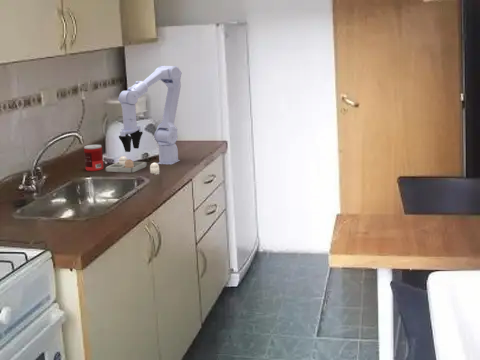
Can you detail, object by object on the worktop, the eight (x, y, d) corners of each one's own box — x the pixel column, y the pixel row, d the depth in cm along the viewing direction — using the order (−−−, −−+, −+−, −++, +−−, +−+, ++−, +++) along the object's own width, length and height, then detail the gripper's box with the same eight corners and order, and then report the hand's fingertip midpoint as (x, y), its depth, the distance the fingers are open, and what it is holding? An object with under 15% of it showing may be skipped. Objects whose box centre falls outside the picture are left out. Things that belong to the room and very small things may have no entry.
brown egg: (127, 169, 297) (127, 158, 296) (135, 169, 296) (134, 158, 295) (123, 171, 294) (122, 160, 292) (131, 171, 292) (130, 160, 291)
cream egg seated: (122, 165, 305) (121, 155, 304) (129, 166, 304) (128, 155, 302) (117, 167, 301) (117, 156, 300) (125, 168, 300) (124, 157, 299)
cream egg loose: (152, 172, 292) (152, 161, 291) (160, 173, 290) (160, 161, 289) (148, 174, 288) (148, 163, 287) (157, 175, 287) (156, 163, 286)
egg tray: (120, 166, 307) (120, 161, 306) (147, 167, 303) (146, 162, 302) (105, 172, 295) (105, 167, 294) (133, 173, 291) (132, 168, 290)
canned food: (105, 168, 304) (103, 144, 301) (100, 172, 296) (98, 147, 293) (89, 168, 304) (87, 144, 302) (83, 172, 297) (81, 147, 294)
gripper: (129, 116, 298) (131, 146, 302) (112, 121, 285) (115, 153, 288) (143, 116, 296) (146, 147, 299) (127, 121, 283) (130, 153, 286)
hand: (132, 150), depth 294 cm, fingers open, 7 cm apart
